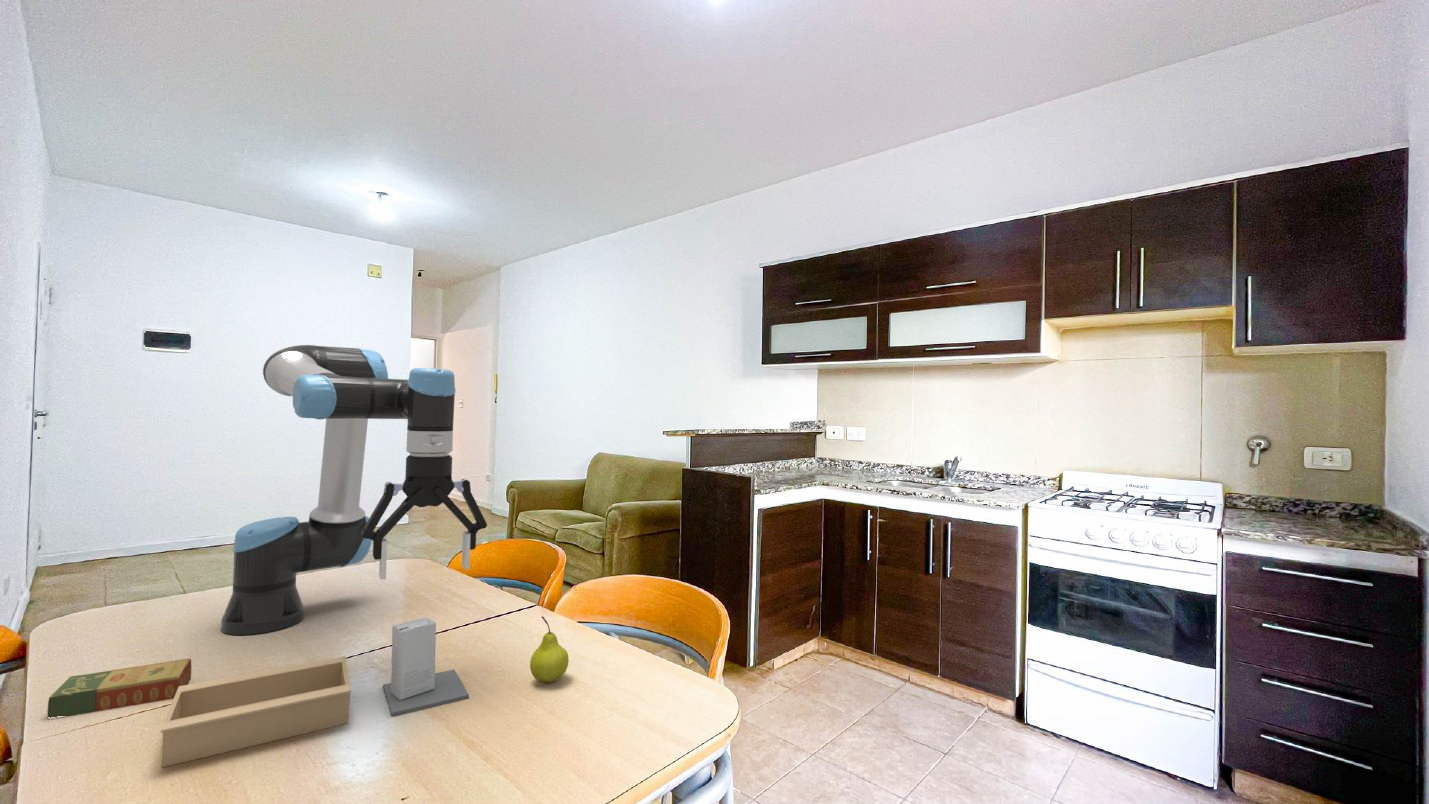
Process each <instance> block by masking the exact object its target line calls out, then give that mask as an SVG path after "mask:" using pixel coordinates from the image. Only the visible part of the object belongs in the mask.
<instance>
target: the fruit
mask: <svg viewBox="0 0 1429 804" xmlns="http://www.w3.org/2000/svg"><path fill="white" fill-rule="evenodd" d="M541 618H542V619H543V621H544V623H545V624H546V625H547V628H548V629H547V630H548V632H546V633H545V634H544V635H543V637H542V640H541V643H540V644H539V646H538V647H537V648H535V651H534V652H533V653H532V655H531V657H530V661H529V663H530V664H529V668H530V672H531V675H532V677H533V678H534V679H535V680H537V682H540V683H542V684H544V685H545V684H547V685H549V684H553V683H555V682H556V681H557V680H559V679H560V678H561V677H562V676H564V675H565V673H566V672H567V668H568V666H569V662H570V661H569V658H570V657H569V653H568V651H567V650H566V649H565V648H564V647H563V646H562V645H560V644H559V642H558V638H557V636H556V634H555V633H554V632H552V631H551V629H550V625H549V623H548V621H547V619H546V618H545V617H544V616H543V615H541Z"/></svg>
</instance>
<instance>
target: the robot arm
mask: <svg viewBox="0 0 1429 804" xmlns="http://www.w3.org/2000/svg"><path fill="white" fill-rule="evenodd" d="M262 375H263V379H264V381H265V383H266V385H267V386H268V387H269V388H271V390H272V391H274V392H276V393H278V394H279V395H282V396H286V397H292V408H293V409H294V413H295V415H296V416H298V417H299V418H301V419H302V418H303V419H315V420H325V427H324V438H323V449H322V459H321V469H320V481H319V492H318V499H317V500H318V501H317V506H316V507H314V508H313V509H312V510H311V511H310V512H309V515H308V516H309V517H308V521H303V522H300V520H299V519H298V518H297V517H295V516H284V517H279V516H278V517H273V518H268V519H263V520H258V521H254V522H251V523H249V524H246V525H243V526H242V527H240V528H239V529H238V530H236V532H235V535H234V536H235V537H234V543H233V547H232V552H233V571H232V577H233V578H232V594H231V597H230V599H229V601H228V603H227V606H226V609H225V610H224V614H223V615H222V618H221V623H220V624H221V626H220V631H221V632H222V633H224V634H228V635H236V636H246V635H256V634H257V635H258V634H264V633H270V632H275V631H278V630H282V629H286V628H289V627H292V626H295V625H296V624H298V623H300V622H301V621H303V619H304V618H305V607H304V604H303V601H302V598H301V595H300V593H299V590H298V587H297V575H298V573H305V572H311V571H318V570H325V569H330V568H332V569H333V568H339V567H340V568H343V567H347V566H350V565H355V564H359V563H361V562H362V561H363V560H364V559H365V558H367V556H368V553H369V551H370V549H371V545H372V557H373V559H374V561H378V560H379V566H378V567H379V571H378V572H379V573H378V576H379V579H380V581H382V580H387V561H388V560H387V559H388V558H387V555H388V540H387V539H386V538H387V537H386V536H387V535H388V534H389V533H390V531H391V530H393V528H395V526H396V525H397V524H398V523H399V522H400V521H401V519H403V518H404V516H405V515H406V514H407V513H408V512H409V511H410V510H412V508H413V507H414V506H415V507H418V508H425V507H429V506H430V507H439V506H440V505H445V507H446V508H447V509H448V510H449V511H450V512H451V513H452V514H453V515H454V516H455V518H456V519H458V521H459V522H460V523H461V524H462V525H463V526H464V527H465V528H466V529H467V530H464V531H462V545H461V546H462V547H461V548H462V550H461V567H462V569H464V570H470V562H471V561H470V559H471V558H470V556H471V551H473V550H475V549H476V546H477V545H476V544H477V533H478V532H479V531H480V530H482V529H486V528H487V527H488V523H487V521H486V519H485V517H484V516H483V513H482V511H481V509H480V507H479V505H478V504H477V501H476V498H475V497H474V496H473V493H472V489H471V482H470V480H467V479H466V478H462V479H461V480H456V481H453V477H452V475H453V471H452V470H453V457H452V455H450V453H452V452H453V449H454V447H453V445H454V444H453V441H454V440H453V439H454V417H455V416H454V414H455V399H456V398H455V395H456V392H457V391H456V385H455V384H456V383H455V374H454V372H453V371H452V370H450V369H447V368H446V369H444V368H425V367H414V368H412V369H411V370H410V371H409V375H408V376H409V377H408V379H401V378H399V379H398V378H389V374H388V369H387V365H386V362H385V359H384V358H383V356H382V355H381V353H379V352H377V351H374V350H369V349H363V348H359V347H358V348H356V347H355V348H354V347H343V346H342V347H341V346H340V347H339V346H324V345H322V346H321V345H315V344H314V345H313V344H301V345H293V346H289V347H285V348H282V349H280V350H278V351H275V352H273V354H271V355H269V357H268V358H267V359H266V361H265V362H264V364H263V367H262ZM370 419H371V420H372V419H373V420H407V428H406V429H407V430H406V452H407V453H408V454H409V455H407V457H405V479H404V482H403V483H394V482H393V483H392V482H391V481H387V482H385V484H384V488H383V494H382V496H381V498H380V499H379V502H378V503H377V504H376V506H375V508H374V510H373V511H372V513H371V514H370V515H369V516H370V517H368V516H367V515H366V511H365V510H364V509H363V508H362V507H361V506H360V499H361V491H362V481H363V472H364V460H365V451H366V442H367V434H368V433H367V432H368V421H369V420H370ZM455 488H456V490H457V491H458V492H459V493H461V495H462V496H463V499H464V501H465V503H466V505H467V507H468V509H469V510H470V512H471V514H472V516H473V519H474V521H475V522H474V523H473V522H472V521H471V520H470V519H469V517H467V515H466V514H465V513H464V512H463V511H462V510H461V509H460V508H459V507H458V506H457V505H456V503H455V501H453V500H452V499H451V498H450V497H449V496H450V494H451V493H452V491H454V489H455ZM401 491H402V492H403V493H404V495H406V498H404V499H403V501H402V502H401V503H400V505H399V506H398V507H397V508H396V509H395V510H394V511H393V512H392V513H391V515H389V517H388V518H387V519H386V520H385V521H384V522H383V523H382V524H381V525H380V526H379V528H377V529H376V527H377V526H378V524H379V522H380V520H381V519H382V517H383V516H384V513H385V512H386V510H387V508H388V506H389V505H390V503H391V501H392V499H393V497H395V496H397V495H398V493H399V492H401ZM375 529H376V530H375Z"/></svg>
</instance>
